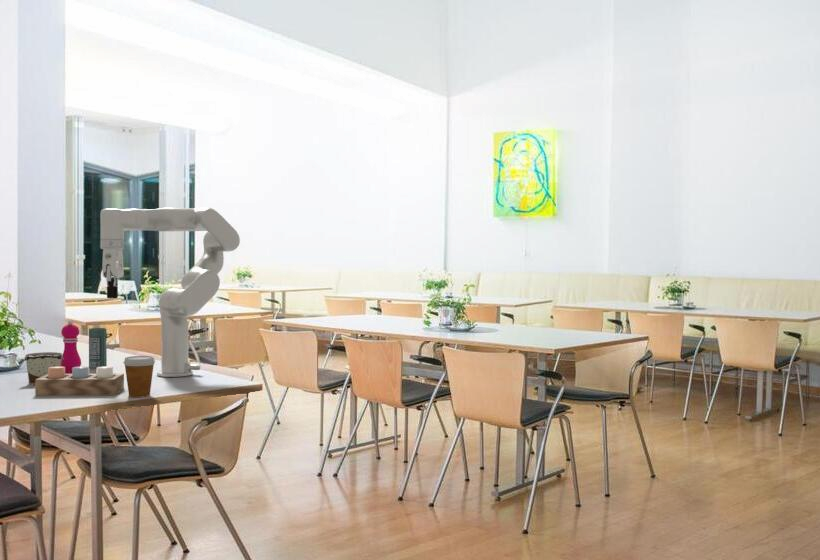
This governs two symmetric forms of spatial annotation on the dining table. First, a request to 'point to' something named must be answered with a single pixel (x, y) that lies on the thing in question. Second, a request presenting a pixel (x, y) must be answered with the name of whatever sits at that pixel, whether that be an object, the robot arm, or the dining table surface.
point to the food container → (41, 364)
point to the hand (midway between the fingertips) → (112, 298)
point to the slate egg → (80, 372)
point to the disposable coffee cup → (139, 375)
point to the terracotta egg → (56, 372)
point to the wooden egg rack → (79, 385)
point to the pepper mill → (70, 347)
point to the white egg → (104, 372)
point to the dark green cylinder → (97, 347)
